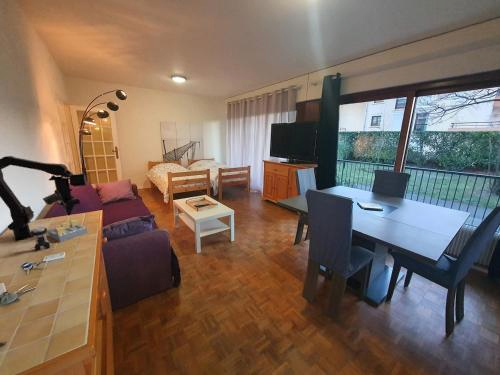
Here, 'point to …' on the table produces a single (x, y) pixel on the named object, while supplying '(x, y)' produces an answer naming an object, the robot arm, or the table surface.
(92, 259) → the table surface
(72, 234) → the switch unit
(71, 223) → the slider
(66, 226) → the slider
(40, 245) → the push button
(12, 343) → the table surface
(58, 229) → the slider
